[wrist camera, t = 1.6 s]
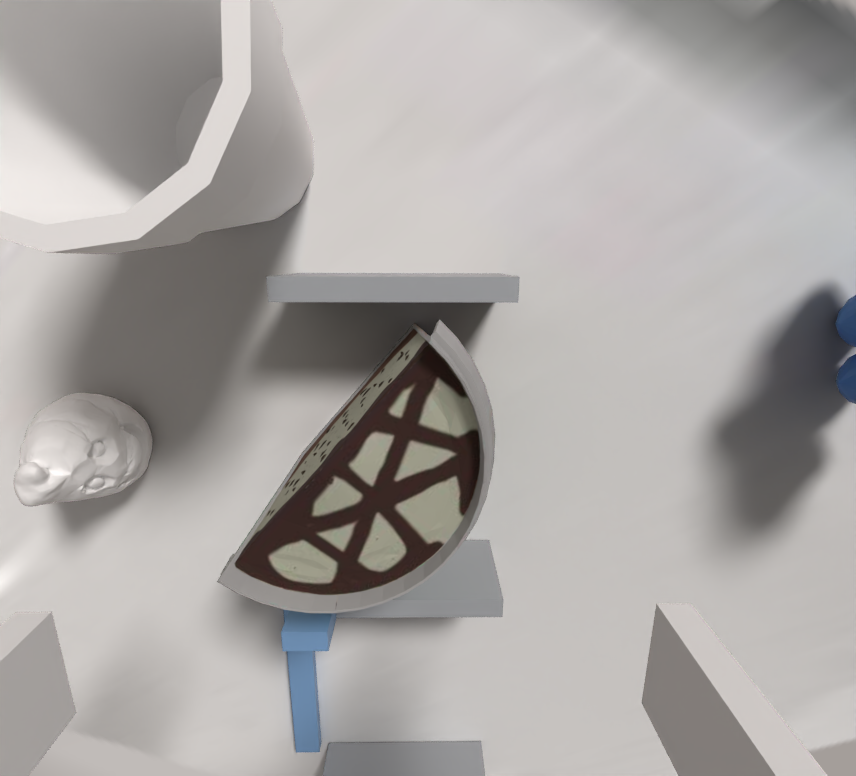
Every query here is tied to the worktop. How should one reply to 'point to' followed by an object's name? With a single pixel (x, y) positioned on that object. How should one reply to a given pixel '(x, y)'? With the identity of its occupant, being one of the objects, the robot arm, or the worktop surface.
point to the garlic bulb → (81, 450)
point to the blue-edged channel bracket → (437, 597)
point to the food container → (377, 487)
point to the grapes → (852, 328)
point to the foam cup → (145, 122)
